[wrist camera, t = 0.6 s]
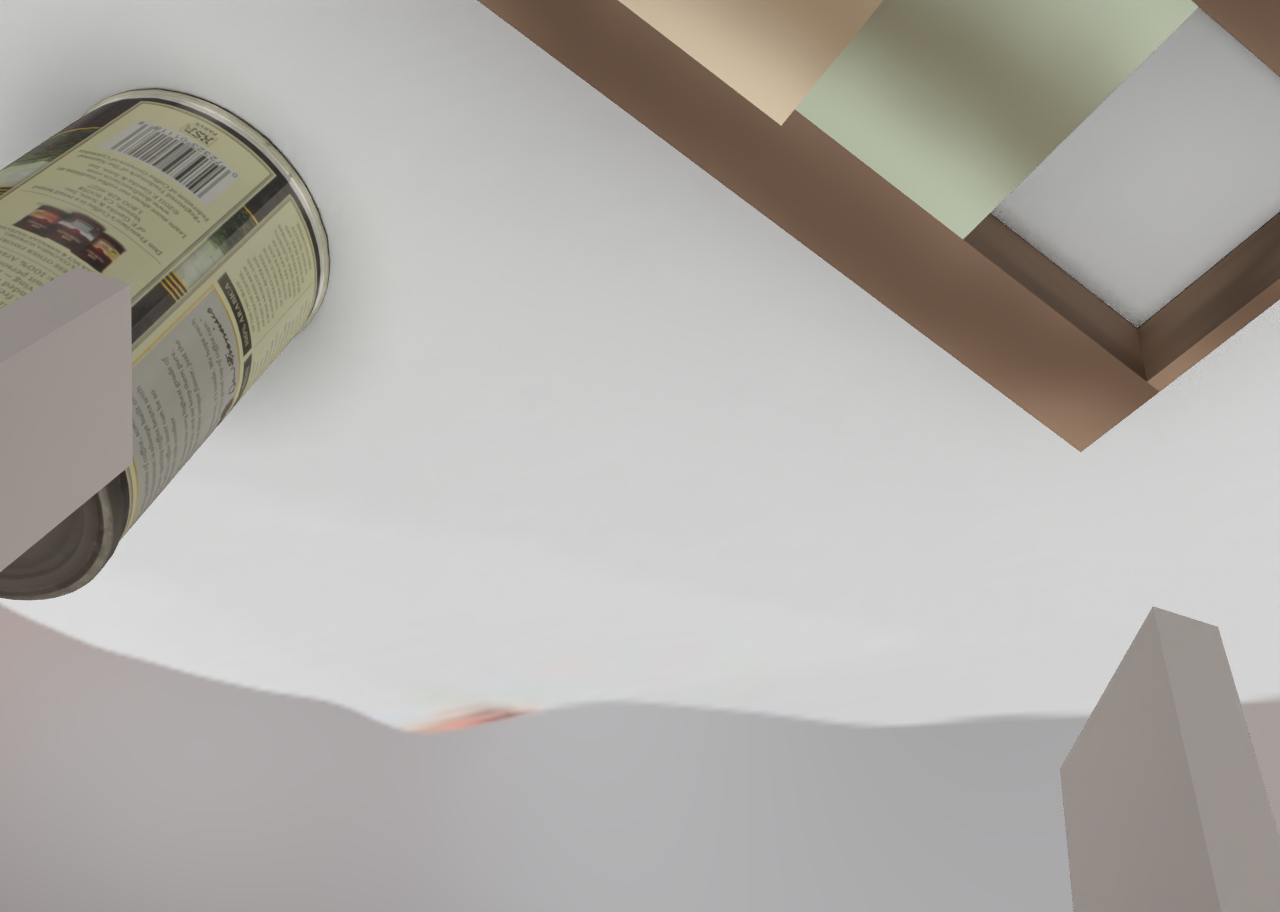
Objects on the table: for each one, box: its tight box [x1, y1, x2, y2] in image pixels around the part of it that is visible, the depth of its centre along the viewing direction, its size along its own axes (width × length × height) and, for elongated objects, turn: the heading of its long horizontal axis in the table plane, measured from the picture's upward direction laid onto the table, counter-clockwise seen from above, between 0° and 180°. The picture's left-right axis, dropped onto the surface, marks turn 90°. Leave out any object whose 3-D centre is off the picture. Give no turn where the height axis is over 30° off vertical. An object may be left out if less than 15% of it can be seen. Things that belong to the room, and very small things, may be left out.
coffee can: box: [0, 89, 329, 600], centre depth 38 cm, size 10×10×14 cm
